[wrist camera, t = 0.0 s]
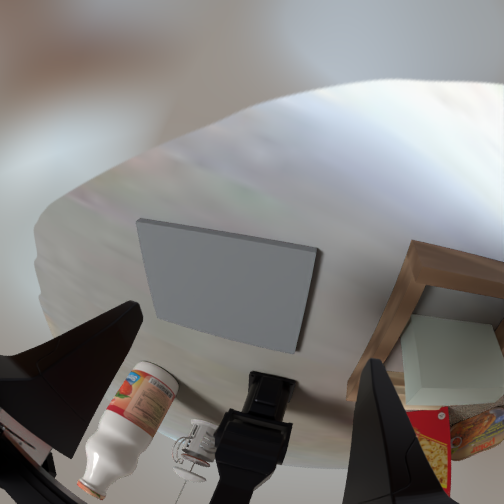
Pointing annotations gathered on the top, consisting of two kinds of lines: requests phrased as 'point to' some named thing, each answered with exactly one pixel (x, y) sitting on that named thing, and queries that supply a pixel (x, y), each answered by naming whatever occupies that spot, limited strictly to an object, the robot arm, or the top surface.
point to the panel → (450, 362)
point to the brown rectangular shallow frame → (412, 285)
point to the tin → (477, 434)
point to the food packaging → (435, 441)
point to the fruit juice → (127, 427)
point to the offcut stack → (399, 385)
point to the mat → (227, 282)
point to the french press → (197, 449)
